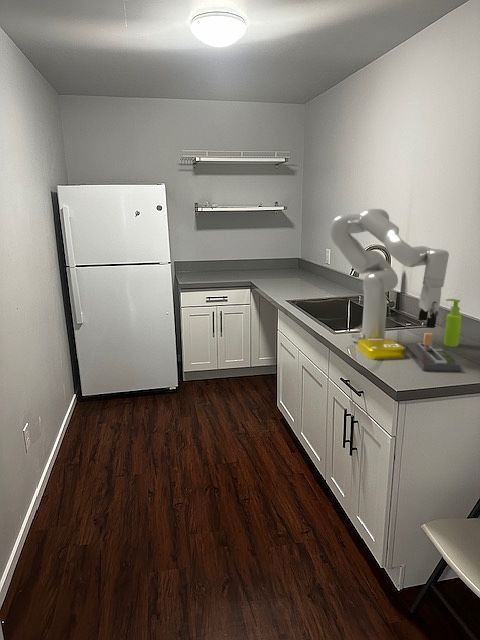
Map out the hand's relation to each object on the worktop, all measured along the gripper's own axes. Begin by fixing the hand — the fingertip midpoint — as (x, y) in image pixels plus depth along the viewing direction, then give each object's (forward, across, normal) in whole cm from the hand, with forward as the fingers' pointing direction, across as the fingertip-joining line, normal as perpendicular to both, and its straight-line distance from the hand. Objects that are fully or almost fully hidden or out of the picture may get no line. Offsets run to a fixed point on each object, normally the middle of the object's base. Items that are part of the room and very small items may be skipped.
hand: (426, 323), depth 180 cm
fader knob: (+10, +1, +1) cm, 10 cm away
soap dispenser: (+13, -15, +17) cm, 26 cm away
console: (+13, +6, +2) cm, 14 cm away
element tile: (+15, -2, -16) cm, 22 cm away
